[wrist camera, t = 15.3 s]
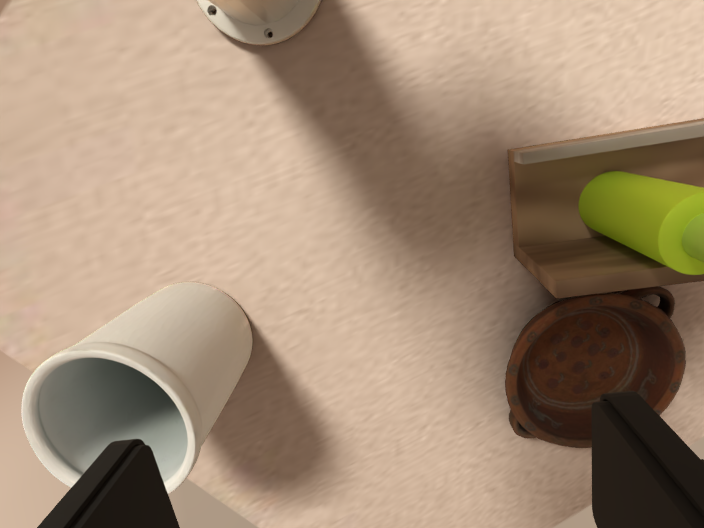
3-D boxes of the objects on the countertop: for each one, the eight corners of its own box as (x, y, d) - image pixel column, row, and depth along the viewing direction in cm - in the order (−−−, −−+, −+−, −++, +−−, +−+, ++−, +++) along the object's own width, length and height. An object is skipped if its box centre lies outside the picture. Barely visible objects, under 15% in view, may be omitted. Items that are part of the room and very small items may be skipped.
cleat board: (507, 149, 44) (551, 159, 32) (704, 118, 41) (825, 116, 30) (514, 255, 47) (556, 298, 35) (696, 231, 45) (804, 268, 33)
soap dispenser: (608, 149, 41) (803, 171, 22) (655, 200, 42) (880, 263, 23) (558, 196, 43) (699, 253, 24) (604, 243, 44) (775, 335, 25)
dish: (451, 381, 52) (458, 407, 47) (585, 231, 46) (608, 244, 41) (565, 455, 54) (583, 487, 49) (708, 322, 48) (744, 344, 43)
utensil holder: (135, 379, 55) (26, 491, 38) (132, 266, 50) (7, 337, 33) (252, 397, 54) (194, 519, 38) (260, 285, 50) (199, 367, 33)
